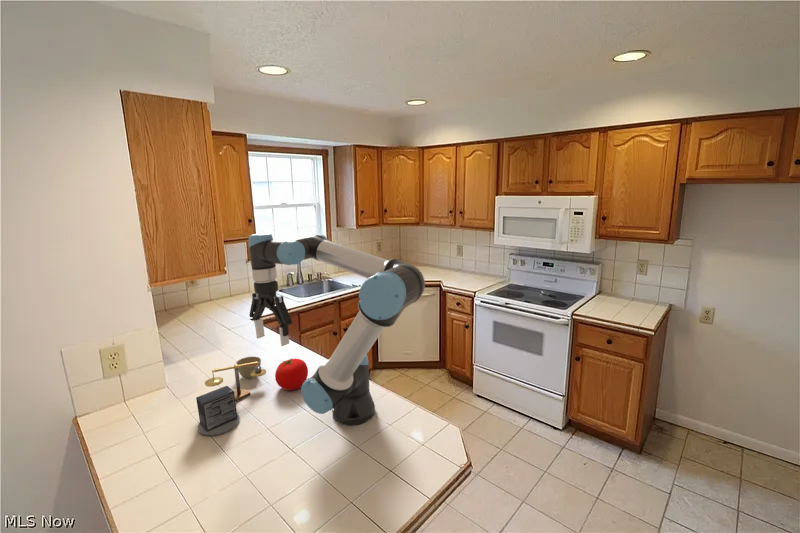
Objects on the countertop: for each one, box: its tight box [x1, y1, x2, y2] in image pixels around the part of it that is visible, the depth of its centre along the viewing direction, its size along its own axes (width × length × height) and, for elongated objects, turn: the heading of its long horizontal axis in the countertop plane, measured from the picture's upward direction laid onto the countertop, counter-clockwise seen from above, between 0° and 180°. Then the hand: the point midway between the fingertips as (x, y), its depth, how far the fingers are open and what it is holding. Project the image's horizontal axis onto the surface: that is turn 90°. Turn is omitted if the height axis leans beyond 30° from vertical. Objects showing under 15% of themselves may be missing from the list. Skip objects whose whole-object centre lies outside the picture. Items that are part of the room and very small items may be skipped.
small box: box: [195, 385, 238, 432], centre depth 129 cm, size 11×6×10 cm, turn 136°
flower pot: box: [235, 356, 262, 381], centre depth 163 cm, size 10×10×7 cm
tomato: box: [274, 357, 309, 391], centre depth 154 cm, size 12×14×11 cm
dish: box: [197, 412, 241, 437], centre depth 130 cm, size 13×13×1 cm
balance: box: [204, 362, 267, 403], centre depth 147 cm, size 6×24×15 cm, turn 142°
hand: (272, 340), depth 130 cm, fingers open, 13 cm apart
